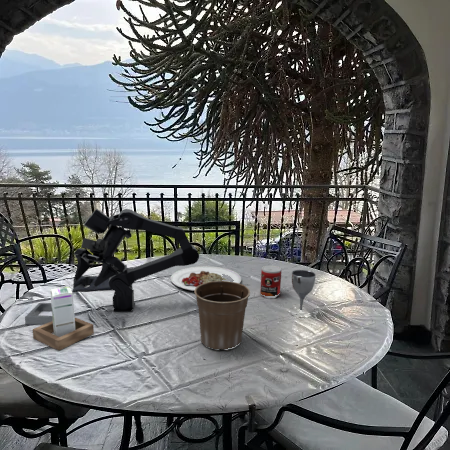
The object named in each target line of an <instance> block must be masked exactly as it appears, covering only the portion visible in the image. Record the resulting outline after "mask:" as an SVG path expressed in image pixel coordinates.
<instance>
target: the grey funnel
mask: <svg viewBox="0 0 450 450" xmlns="http://www.w3.org/2000/svg"><path fill="white" fill-rule="evenodd" d="M316 276H317V275H316V273H315V272H313V271H311V270H308V269H294V270H293V271H292V272H291V284H292V285H291V286H292V289H293V290H294V292H295V293H296V294H297V295H298V297H299V305H300V306H299V309H300V310H303V305H304V300H305V298H306V297H307V296H308V295H309V294H310V293H312V291H313V290H314V286H315V282H316Z"/></svg>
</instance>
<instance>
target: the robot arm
mask: <svg viewBox="0 0 450 450" xmlns="http://www.w3.org/2000/svg"><path fill="white" fill-rule="evenodd" d="M83 226H84V227H85V228H87V229H89V230H91V231H92V232H94V233H95V234H97V235H101V234H104V233H105V234H104V236H103V237H102V238H97V239H96V240H94V239H89V238H85V237H84V238H83V241H82V243H81V247H79V248H76V250H75V251H74V252H73V255H74V257H75V259H76V260H77V266H76V270H75V273H74V277H73V280H74V279H75V280H78V279H79V278H80V277H81V276H83V275H84V274H86V272H87V271H88V270H90V268H91V267H92V265H91V264H94V262H96V263H99V264H101V270H100V272H99V274H98V275H97V276H98V277H97V279H96V281H95V283H94V286H95V287H97V286H98V285H100V284H101V283H103V282H104V281H106V280H107V279H109V286H110V288H111V289H112V290H111V291H114V292H113V295H112V308H113V310H112V311H113V312H115V313H116V312H118V313H119V312H120V313H123V312H125V313H128V312H129V313H130V312H133V310H134V308H135V306H136V302H135V290H134V289H133V288H134V287H133V284H134V283H135V282H137V281H138V280H141V279H143V278H146V277H149V276H152V275H155V274H157V273H158V274H159V273H160V272H162V271H165V270H168V269H171V268H174V267H185V266H186V267H187V266H190V265H194V264H196V263H197V262H198V261H199V259H200V253H199V251H198V250H197V248H196V247H195V246H194V245H193V244H191V242H190V241H189V239H188V237H187V235H186V232H185V230H184V229H183V228H182V227H180V226H175V225H171V224H168V223H164V222H160V221H157V220H154V219H150V218H147V217H145V216H143V215H142V214H140V213H139V212H136V211H134V210H132V209H130V208H124V209H123V210H121V211H120V212H119V213H117V214H114V215H111V216H108V215H106V214H104V213H103V212H102V211H101V210H100V209H99V208H95V210H94V211H93V212H92V213H91V214H90V215H89V216H88V218H87V219H86V221H85V222H84V224H83ZM131 230H132V231H133V230H134V231H138V230H140V231H147V232H150V233H153V234H157V235H161V236H165V237H168V238H172V239H175V240H176V241H177V242H178V245H179V246H180V247H179V248H177V249H175V250H174V251H173V252H172V253H170V254H168V255H165V256H163V257H160V258H157V259H154V260H152V261H149V262H146V263H143V264H140V265H138V266H135V267H128V266H127V264H125V263H124V262H123V261H122V260H121V259H120V258H119V257H117V256H114V254H115V253H116V254H117V253H119V252H120V250H119V246H120V245H121V243H122V241H123V240H124V238H126V239H130V238H132V236H133V235H132V233H131Z"/></svg>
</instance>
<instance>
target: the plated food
mask: <svg viewBox="0 0 450 450" xmlns="http://www.w3.org/2000/svg"><path fill="white" fill-rule="evenodd" d="M222 274H225V275H228V276H230V277H231V278H232V279H233V280H234V281H233V282H235V283H239V284H241V282H242V277H241V275H240V274H239V273H238V272H236V271H233V270H231V269H228V268H225V267H219V266H206V265H205V266H203V265H202V266H192V267H191V266H190V267H186V268H182V269H179V270H176V271H175V272H173V273H172V274H171V276H170V282H171V283H173V284H174V285H175V286H176V287H178V288H180V289H184V290H188V291H192V292H193V291H195V288H196V287H197V286H199V285H201V284H204V283H207V282H211V281H222V280H227V279H225V278H223V277H222V276H223V275H222Z"/></svg>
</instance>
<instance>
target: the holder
mask: <svg viewBox="0 0 450 450" xmlns="http://www.w3.org/2000/svg"><path fill="white" fill-rule="evenodd" d="M41 312H52V305H51V302H38V303H37V305H35V306H34V307H33V308H32V310H30V312H28V314H26V316H24V321H25V325H44V324H46V323H49V322H51V321H53V317H52V315H39V314H40V313H41Z"/></svg>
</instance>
